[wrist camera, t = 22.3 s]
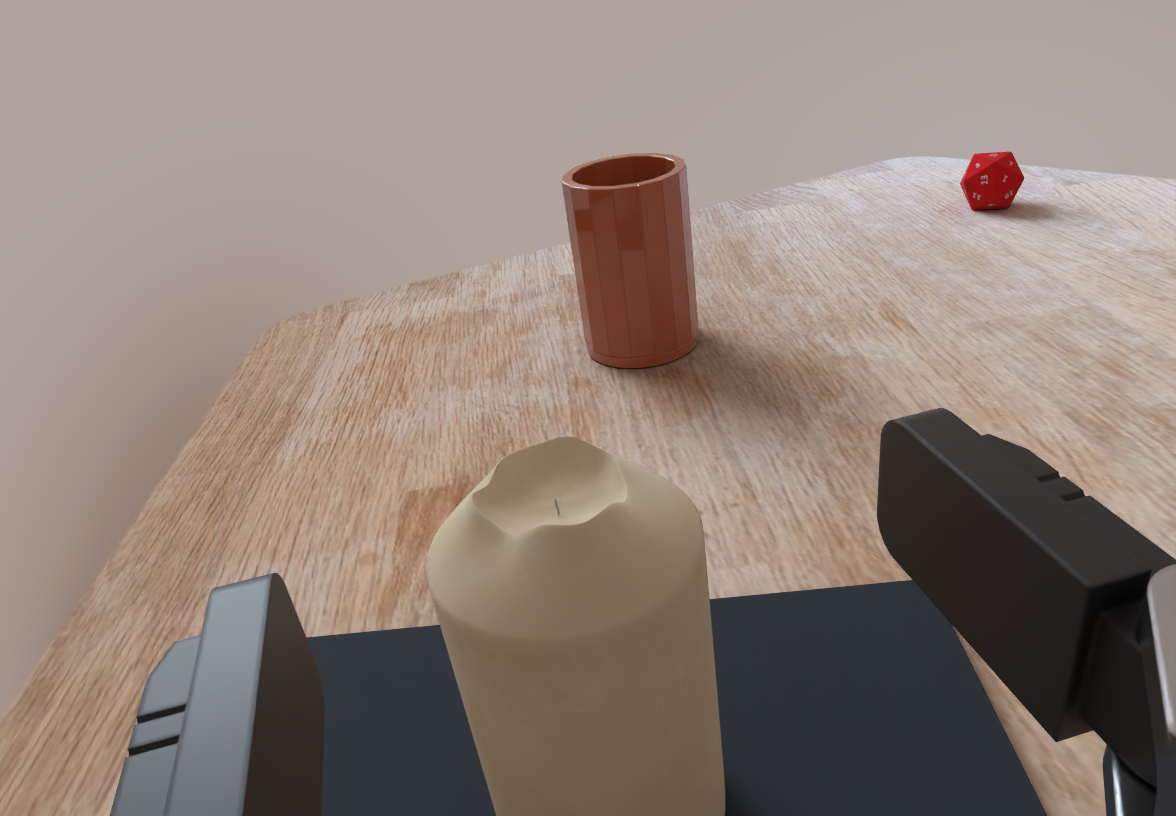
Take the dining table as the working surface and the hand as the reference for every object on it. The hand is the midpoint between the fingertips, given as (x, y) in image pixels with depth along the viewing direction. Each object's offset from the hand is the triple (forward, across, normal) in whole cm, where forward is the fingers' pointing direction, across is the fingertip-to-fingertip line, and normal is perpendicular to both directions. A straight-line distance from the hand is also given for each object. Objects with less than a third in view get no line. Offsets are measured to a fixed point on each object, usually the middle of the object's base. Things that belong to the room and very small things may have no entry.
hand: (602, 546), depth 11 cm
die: (+38, -34, +13) cm, 53 cm away
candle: (+5, 0, +12) cm, 13 cm away
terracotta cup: (+30, -9, +13) cm, 34 cm away
